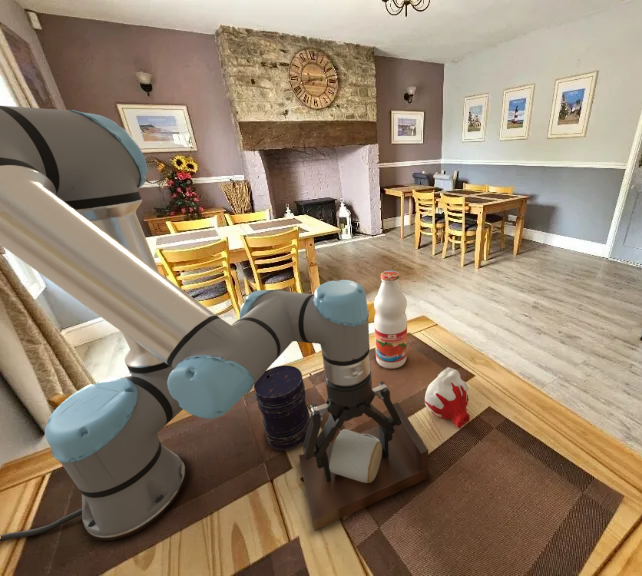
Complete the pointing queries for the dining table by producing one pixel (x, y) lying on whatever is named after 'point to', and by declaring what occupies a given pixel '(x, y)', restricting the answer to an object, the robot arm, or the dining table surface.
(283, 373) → the storage jar
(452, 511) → the dining table surface
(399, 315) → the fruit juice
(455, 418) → the white red rounded piece
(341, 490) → the dark wooden tray
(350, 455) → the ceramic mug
